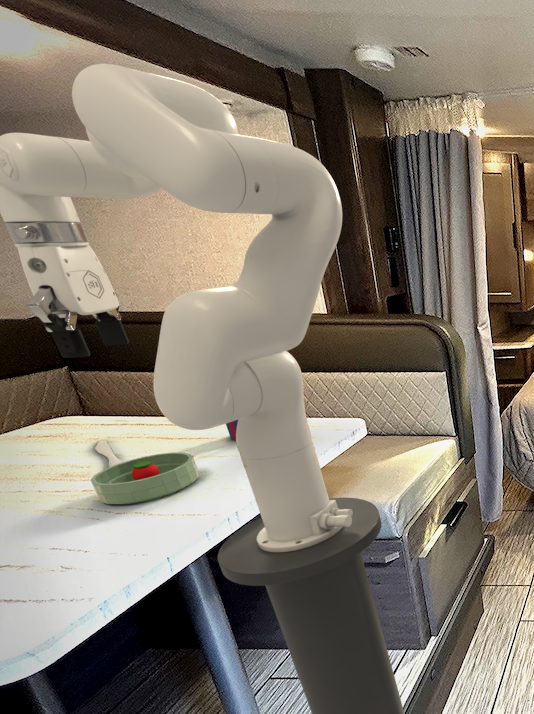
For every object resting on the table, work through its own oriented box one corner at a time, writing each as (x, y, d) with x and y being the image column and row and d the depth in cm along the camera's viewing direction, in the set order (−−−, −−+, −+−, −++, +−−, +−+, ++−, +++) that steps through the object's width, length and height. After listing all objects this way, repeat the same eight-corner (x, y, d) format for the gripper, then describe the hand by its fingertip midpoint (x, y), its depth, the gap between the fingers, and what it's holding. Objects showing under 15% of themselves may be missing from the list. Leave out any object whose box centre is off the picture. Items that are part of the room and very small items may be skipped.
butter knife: (105, 471, 103) (124, 466, 105) (92, 442, 119) (109, 438, 121) (106, 474, 103) (126, 468, 105) (93, 444, 119) (110, 440, 121)
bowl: (218, 472, 103) (210, 452, 101) (153, 507, 90) (143, 485, 88) (152, 472, 104) (144, 452, 102) (78, 507, 91) (67, 484, 89)
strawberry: (169, 481, 98) (160, 459, 97) (151, 490, 95) (141, 468, 93) (151, 481, 98) (142, 459, 97) (132, 490, 95) (122, 468, 93)
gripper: (37, 235, 67) (91, 360, 74) (117, 236, 83) (156, 339, 89) (-37, 237, 65) (25, 364, 72) (60, 237, 81) (104, 342, 87)
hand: (98, 350), depth 80 cm, fingers open, 9 cm apart
